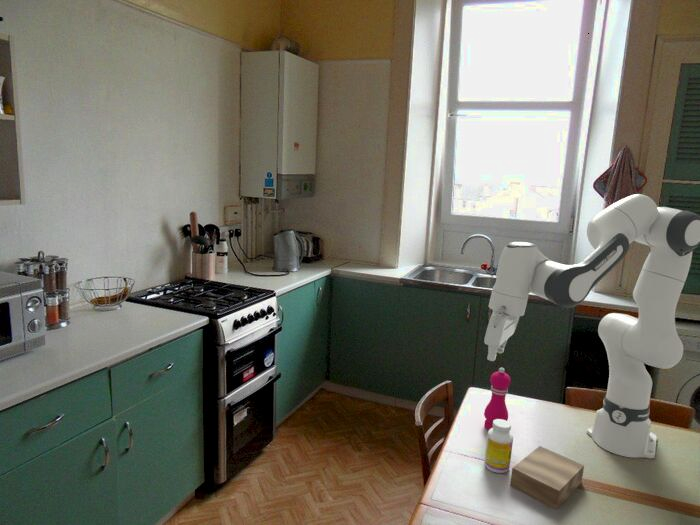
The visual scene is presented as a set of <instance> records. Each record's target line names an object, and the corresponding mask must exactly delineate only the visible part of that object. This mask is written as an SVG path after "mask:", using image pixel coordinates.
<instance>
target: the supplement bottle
mask: <svg viewBox="0 0 700 525" xmlns="http://www.w3.org/2000/svg"><path fill="white" fill-rule="evenodd" d="M511 430H512V424H511V422H509V421H508V420H507V421H506V420H502V419H495V420H494V421H493V428H491V429H490V430H487V435H486V436H487V437H486V446H485V452H484V460H483V461H484V462H483V463H484V464H483V465H484V466H485V467H486V468H487V469H488V470H489V471H490V472H494V473H497V474H504V473H507V472H508V471H509V470H510V466H511V459H512V451H513V445H514V444H513V443H514V435H513V433H512V432H511Z"/></svg>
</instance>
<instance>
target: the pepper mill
mask: <svg viewBox="0 0 700 525" xmlns="http://www.w3.org/2000/svg"><path fill="white" fill-rule="evenodd" d="M511 381H512V380H511V377H510V376H509V374H508V373H506V372H505V368H504V367H499V368H498V371H495V372H493V373H492V374H491V376H490V379H489V382H490V384H491V386H490V391H491V399H490V400H489V402H488V404H486V406H485V409H484V412H483V416H484V418H485V420H484V425H483V426H484V428H485V429H486V430H487V431H489V430H490V429H491V428H493V421H494V420H495V419H502V420H506V421H508V420H509V411H508V408H507V405H506V395H508V391H509V387H510V385H511Z"/></svg>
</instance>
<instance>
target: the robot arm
mask: <svg viewBox="0 0 700 525" xmlns="http://www.w3.org/2000/svg"><path fill="white" fill-rule="evenodd" d="M586 235H587V236H586V237H587V239H588V242H589V243H590V246H591V247H592V249H594V250H593V251H592V252H591V253H590V254H589V255H587V257H585V259H583V260H582V261H581V262H580V263H578V264H577V263H575V264H564V263H560V262H557V261H554V260H551V259H550V258H548V257H547V256H545V255H544V254H543V253H542V252H541V251H540V250H539V249H538V246H537V245H536V244H534V243H532V242H527V241H512V242H509V243H507V244H506V245H505V246H504V248H503V249H502V251H501V254H500V258H499V260H498V264H497V268H496V273H495V276H496V277H495V278H496V280H495V283H494V285H493V287H492V289H491V294H490V298H489V303H488V308H489V309H491V311H492V312H491V315H490V317H489V321H488V324H487V328H486V331H485V336H484V340H483V342H484V345H487V347H488V350H487V352H488V353H487V358H486V359H487V360H488V361H490V362H494V361H495V360H496V359H497V358H496V357H497V354H503V353H504V351H505V347H506V344H507V343H508V342H507V341H508V339H509V338H510V337H512V336H513V335H514V334H515V331H516V329H517V327H518V323H519V321H520V318H521V317H523V316H524V315H525V311H526V308H527V304H528V299H529V294H530V293H531V294H533V295H535V296H538V297H539V298H542V299H545V300H547V301H550V302H552V304H555V305H557V306H559V307H561V308H563V309H570V308H574V307H576V306H578V305H579V304H580V305H581V303H582V302H583V301H585V299H586V298H587V297H588V295H589V294H590V292H591V291H592V290H593V288H594V287H595V286H596V285H597V284H598V283H599V282H600V281H601V280H602V279H603V278H605V276H607V275H608V274H609V272H611V271H612V270H614V269H615V267H616V266H617V265H618V264H619V263H620V262H621V261H622V260H623V259H624V258H625V257H626V255H627V254H628V251H629V250H630V244H631V243H639V244H642V245H645V246H648V247H650V251H649V253H648V255H647V257H646V259H645V261H644V263H643V265H642V268H641V270H640V273H639V276H638V278H637V281H636V283H635V286H634V289H633V291H632V298H633V300H634V301H635V303H636V304H637V308H638V317H635V316H632V315H630V314H626V313H621V312H620V313H618V312H612V313H611V312H610V313H608V314H606V315H605V316H603V317H602V319H601V320H600V321H599V323H598V328H597V333H598V336H599V338H600V339H601V342H602V343H603V345H604V348H605V352H606V354H607V360H608V366H609V367H608V370H609V372H608V373H609V375H608V376H609V377H608V381H607V382H608V383H607V390H606V394H605V396H604V398H603V401H602V402H603V404H602V408H600V409H597V410H596V414H595V418H594V422H593V426H591V427H589V428H588V429H587V430H586V434H587V435H588V436H590V437H591V438H592V439H593V441H594V442H595V443H596V445H597V446H599V447H600V448H602V449H603V450H606V451H607V452H609V453H613V454H615V455H618V456H622V457H628V458H634V459H635V458H636V459H637V458H645V459H652V458H653V459H655V458H656V448H657V442H656V441H658V439H657V435H656V433H653V432H652V430H651V429H652V428H651V427H652V426H651V425H652V420H651V419H650V411H651V410H650V407H651V406H650V405H651V401H650V400H651V393H652V387H653V379H652V377H651V375H650V374H649V372H648V371H647V369H646V366H645V365H648V366H651V367H655V368H659V369H664V370H666V369H671V368H673V367H674V366H676V365H677V364H679V362H680V361H681V359H682V358H683V354H684V344H683V342H682V340H681V338H680V337H679V334H678V331H677V328H676V309H677V305H678V303H679V300H680V296H681V293H682V290H683V288H684V285H685V283H686V280H687V277H688V274H689V271H690V268H691V264H692V259H693V258H692V257H693V251H694V250H695V249H697V247H698V246H699V245H700V215H699V214H697V213H695V212H692V211H689V210H681V209H678V208H672V207H667V206H657V204H656V202H655V201H654V200H653V199H652V198H651V197H649V196H647V195H645V194H641V193H635V194H631V195H629V196H626V197H623V198H621V199H619V200H618V201H616V202H614V203H612V204H610V205H608V206H607V207H606V208H604V209H602V210H601V211H599V212H598V213H596V214H595V215H594V216H593V217H592V218H591V219H590V221H589V222H588V224H587V227H586Z"/></svg>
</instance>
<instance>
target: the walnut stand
mask: <svg viewBox="0 0 700 525" xmlns="http://www.w3.org/2000/svg"><path fill="white" fill-rule="evenodd" d="M584 468H585V465H584V464H582V463H580V462H577V461H575V460H573V459H570V458H568V457H566V456H564V455H562V454H560V453H557V452H554V451H553V450H550V449H548V448H546V447H543V446H541V445H539V446H538V447H537V448H535V449H534V450H533V451H532V452H530V453H529V454H528V455H527V456H525V457H524V458H523V459H521V461H519V462H518V463H517V464H516V465H514V466H513V467H512V469H511V474H510V475H511V476H510V482H509V483H510V484H509V486H510V487H512V488H514V489H516V490H518V491H520V492H522V493H524V495H525V494H526V495H528V496H529V497H531V498H533V499H535V500H537V501H539V502H540V503H543V504H545V505H547V506H549V507H550V508H553V509H554V510H558V508H560V506H562V504H563V503H564V502H565V501H566V500H567V499H568V498H569V497H570V496H571V494H573V493H574V491H575V490H576V489H577V488H579V486H580V485H581V484H582V482H583V476H584Z"/></svg>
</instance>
